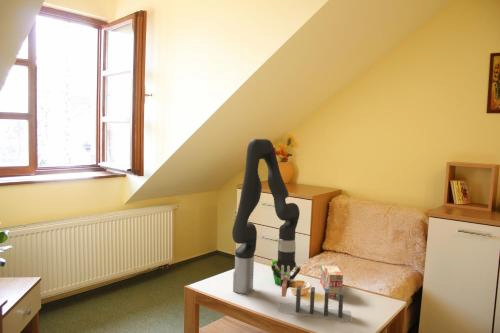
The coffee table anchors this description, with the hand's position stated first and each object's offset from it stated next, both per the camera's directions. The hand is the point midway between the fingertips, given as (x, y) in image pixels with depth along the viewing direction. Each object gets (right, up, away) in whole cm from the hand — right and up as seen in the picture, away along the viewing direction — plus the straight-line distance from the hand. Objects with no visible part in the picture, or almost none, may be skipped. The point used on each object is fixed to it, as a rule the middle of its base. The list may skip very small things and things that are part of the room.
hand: (285, 287), depth 172 cm
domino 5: (+23, -11, -4) cm, 26 cm away
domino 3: (+11, -10, -2) cm, 15 cm away
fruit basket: (-1, -7, +34) cm, 34 cm away
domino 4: (+17, -10, -3) cm, 20 cm away
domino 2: (+5, -10, 0) cm, 11 cm away
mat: (+12, -10, -2) cm, 16 cm away
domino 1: (-1, 0, -6) cm, 6 cm away
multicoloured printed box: (+25, -9, +23) cm, 35 cm away
